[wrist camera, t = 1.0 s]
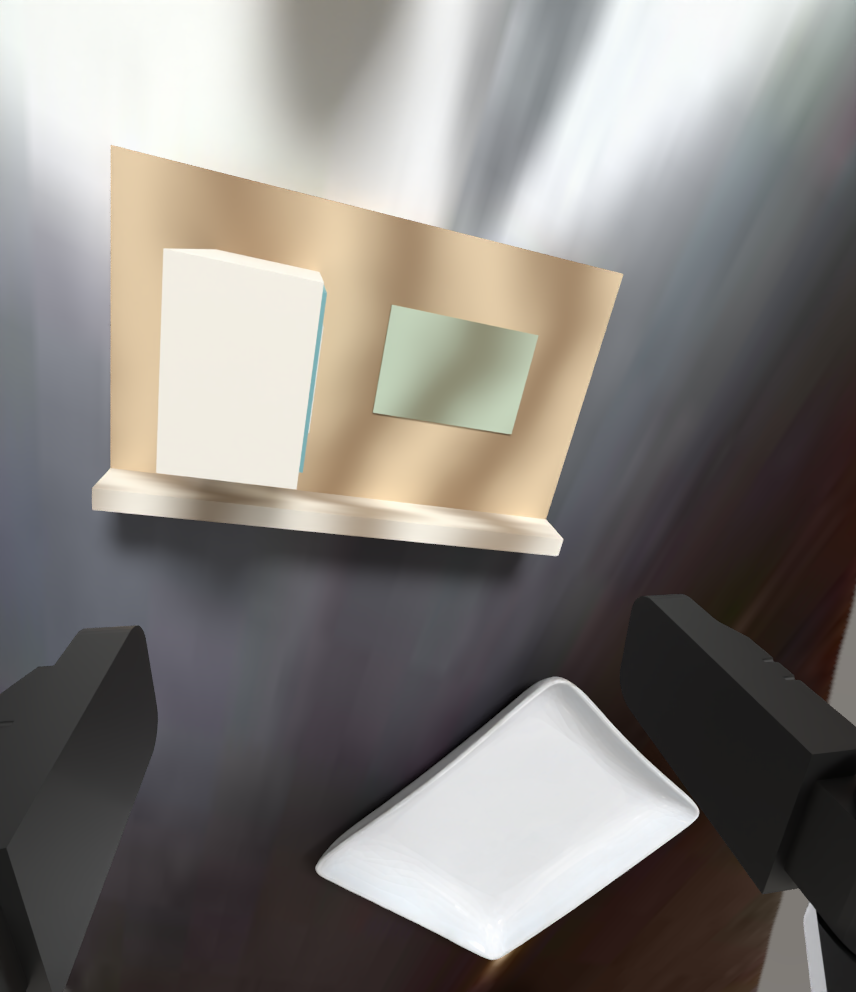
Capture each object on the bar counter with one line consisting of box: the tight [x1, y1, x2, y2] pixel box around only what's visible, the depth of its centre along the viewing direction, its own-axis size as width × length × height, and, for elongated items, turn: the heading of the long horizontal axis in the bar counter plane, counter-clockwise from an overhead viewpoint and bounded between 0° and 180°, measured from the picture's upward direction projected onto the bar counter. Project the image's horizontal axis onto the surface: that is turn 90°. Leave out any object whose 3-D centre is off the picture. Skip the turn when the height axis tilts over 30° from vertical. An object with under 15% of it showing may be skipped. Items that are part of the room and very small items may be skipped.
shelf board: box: [92, 145, 623, 556], centre depth 25 cm, size 22×14×3 cm, turn 78°
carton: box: [156, 248, 327, 490], centre depth 20 cm, size 6×4×9 cm
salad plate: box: [315, 677, 699, 960], centre depth 41 cm, size 21×21×3 cm
